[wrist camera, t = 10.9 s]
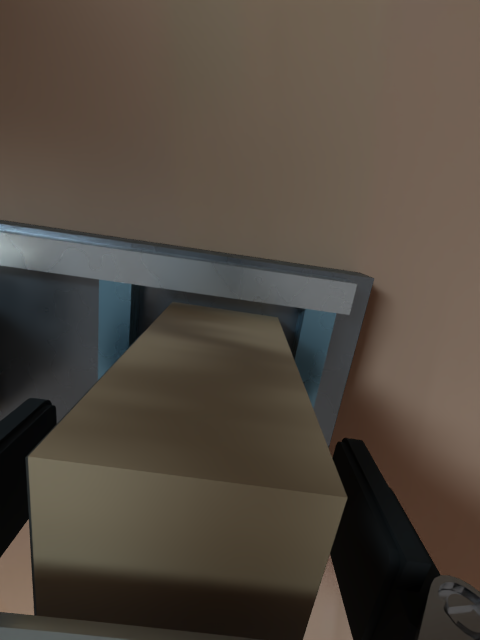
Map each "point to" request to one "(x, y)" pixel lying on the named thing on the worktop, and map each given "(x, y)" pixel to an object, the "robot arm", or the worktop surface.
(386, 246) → the worktop surface
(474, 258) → the worktop surface
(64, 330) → the rail
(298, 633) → the tan wooden block
